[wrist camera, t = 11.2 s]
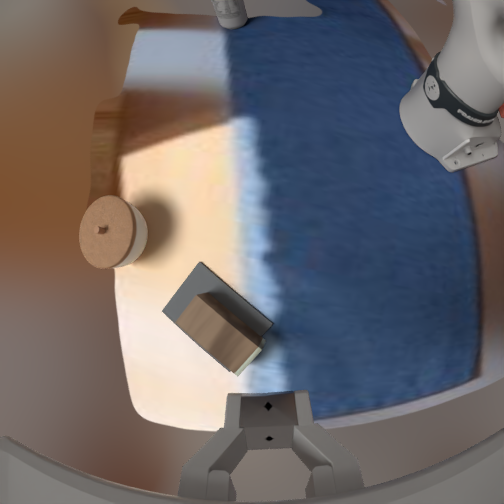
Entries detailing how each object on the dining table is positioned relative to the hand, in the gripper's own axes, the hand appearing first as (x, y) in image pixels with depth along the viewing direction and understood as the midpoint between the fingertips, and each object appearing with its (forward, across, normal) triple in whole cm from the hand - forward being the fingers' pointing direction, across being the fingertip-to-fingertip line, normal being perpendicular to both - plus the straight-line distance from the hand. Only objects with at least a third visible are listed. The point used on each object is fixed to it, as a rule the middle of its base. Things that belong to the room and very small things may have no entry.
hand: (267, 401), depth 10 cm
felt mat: (+27, +7, +15) cm, 32 cm away
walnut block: (+21, +2, +18) cm, 28 cm away
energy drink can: (+53, +3, -38) cm, 65 cm away
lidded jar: (+35, +21, +4) cm, 41 cm away
